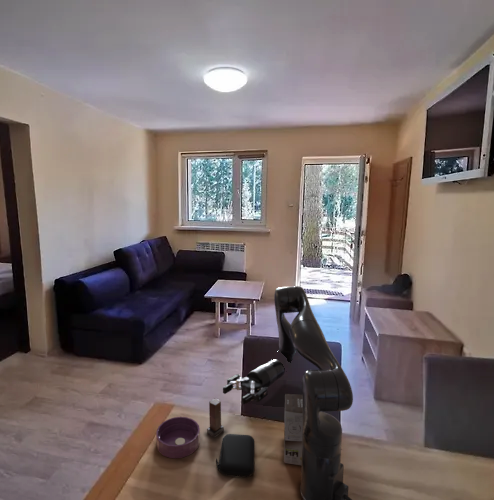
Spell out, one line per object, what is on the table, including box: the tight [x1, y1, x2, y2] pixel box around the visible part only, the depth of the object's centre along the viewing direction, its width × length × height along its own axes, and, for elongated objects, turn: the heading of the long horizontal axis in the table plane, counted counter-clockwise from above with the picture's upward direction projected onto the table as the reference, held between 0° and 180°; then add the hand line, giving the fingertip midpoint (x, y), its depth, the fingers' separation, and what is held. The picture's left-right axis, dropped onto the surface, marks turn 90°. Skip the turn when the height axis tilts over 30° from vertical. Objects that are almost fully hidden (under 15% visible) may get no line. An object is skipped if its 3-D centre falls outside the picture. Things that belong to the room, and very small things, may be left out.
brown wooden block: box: [206, 398, 225, 438], centre depth 106 cm, size 4×3×11 cm
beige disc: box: [175, 438, 185, 445], centre depth 102 cm, size 3×3×1 cm
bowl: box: [155, 416, 201, 459], centre depth 102 cm, size 13×13×4 cm
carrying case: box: [215, 433, 255, 478], centre depth 96 cm, size 11×3×15 cm
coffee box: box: [283, 393, 303, 466], centre depth 97 cm, size 9×6×16 cm
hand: (232, 396), depth 112 cm, fingers open, 8 cm apart
